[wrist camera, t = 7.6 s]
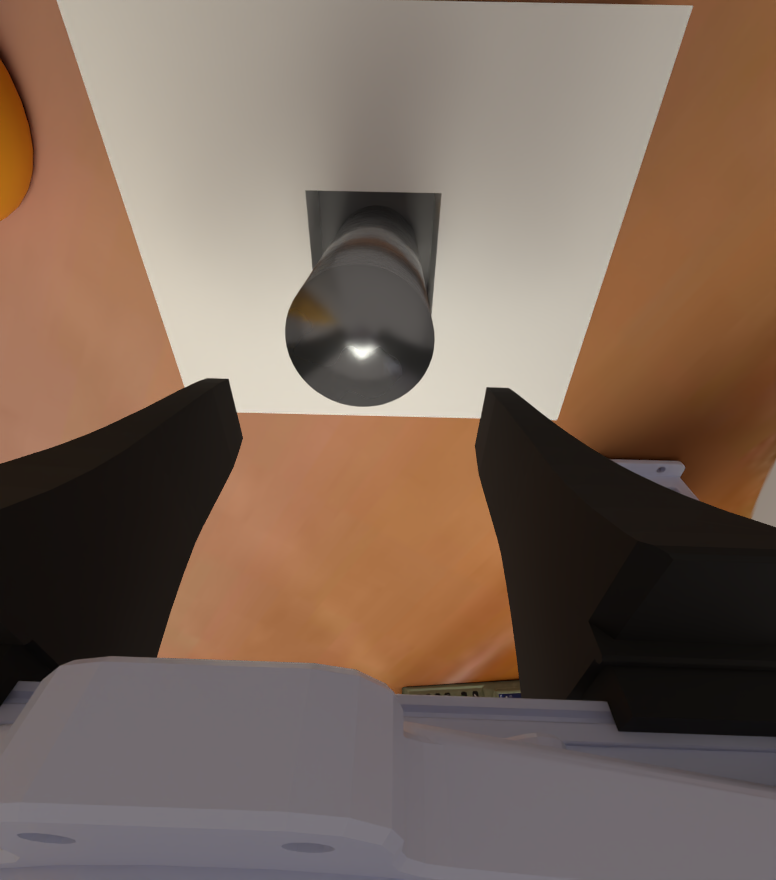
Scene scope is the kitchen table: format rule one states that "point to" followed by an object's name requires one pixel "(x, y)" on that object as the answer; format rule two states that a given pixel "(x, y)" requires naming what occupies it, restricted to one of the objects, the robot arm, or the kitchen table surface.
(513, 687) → the handheld radio
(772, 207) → the kitchen table surface
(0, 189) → the beer bottle
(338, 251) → the steel pin
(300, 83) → the grey hole plate
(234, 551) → the kitchen table surface
